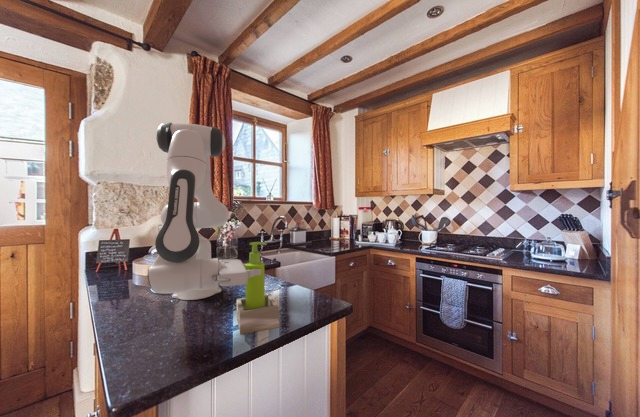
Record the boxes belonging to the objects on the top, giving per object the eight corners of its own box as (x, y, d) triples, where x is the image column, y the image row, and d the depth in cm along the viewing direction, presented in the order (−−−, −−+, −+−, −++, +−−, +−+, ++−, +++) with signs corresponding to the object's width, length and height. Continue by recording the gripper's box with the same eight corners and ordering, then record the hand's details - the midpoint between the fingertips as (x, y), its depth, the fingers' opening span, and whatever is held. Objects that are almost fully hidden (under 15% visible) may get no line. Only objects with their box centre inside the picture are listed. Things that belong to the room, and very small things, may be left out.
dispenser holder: (236, 317, 86) (236, 299, 86) (270, 311, 91) (270, 294, 91) (240, 334, 75) (240, 312, 75) (279, 326, 79) (278, 306, 79)
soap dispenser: (263, 309, 79) (262, 243, 79) (242, 307, 80) (241, 243, 80) (270, 302, 85) (270, 241, 85) (250, 301, 86) (250, 240, 86)
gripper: (212, 270, 68) (265, 265, 73) (212, 257, 87) (254, 254, 92) (212, 294, 68) (265, 287, 73) (212, 276, 87) (254, 272, 92)
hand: (259, 269), depth 83 cm, fingers closed on soap dispenser, 6 cm apart
